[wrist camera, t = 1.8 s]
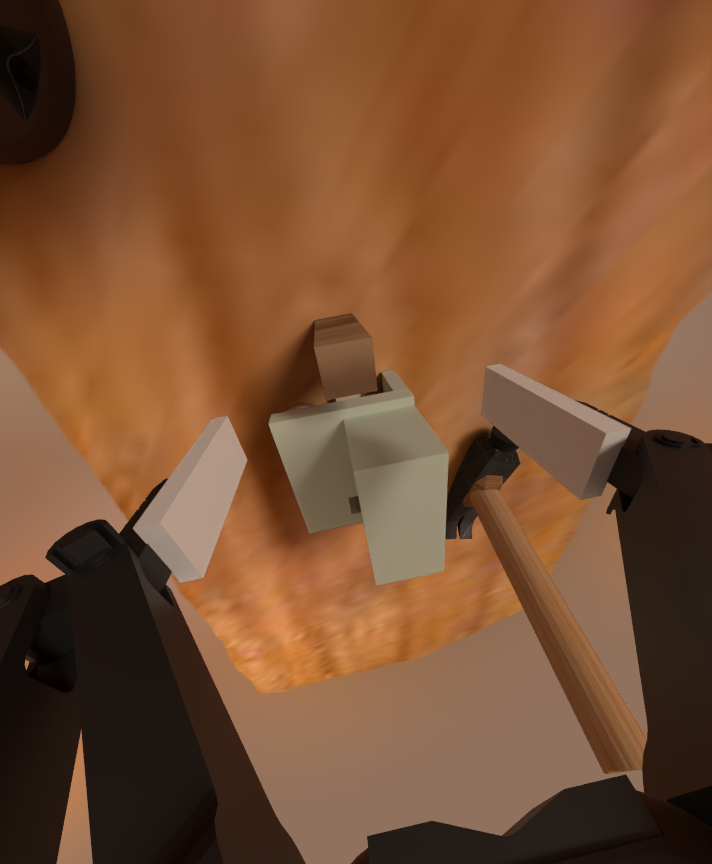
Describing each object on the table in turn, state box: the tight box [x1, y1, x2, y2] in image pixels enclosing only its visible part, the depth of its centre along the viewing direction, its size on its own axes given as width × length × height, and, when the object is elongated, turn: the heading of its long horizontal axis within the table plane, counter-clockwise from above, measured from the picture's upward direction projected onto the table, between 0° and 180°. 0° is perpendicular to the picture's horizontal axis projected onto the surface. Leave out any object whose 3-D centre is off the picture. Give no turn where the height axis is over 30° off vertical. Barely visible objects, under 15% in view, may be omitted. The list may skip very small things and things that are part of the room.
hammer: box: [445, 426, 647, 774], centre depth 32 cm, size 20×5×30 cm, turn 173°
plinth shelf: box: [268, 370, 449, 586], centre depth 30 cm, size 16×14×16 cm
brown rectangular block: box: [314, 314, 378, 402], centre depth 28 cm, size 18×4×12 cm, turn 9°
